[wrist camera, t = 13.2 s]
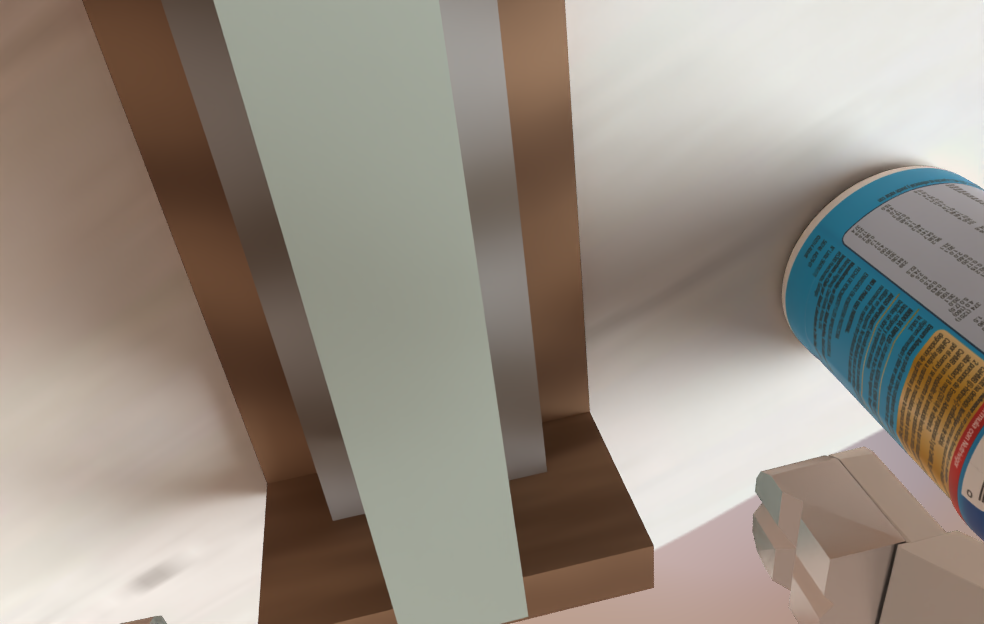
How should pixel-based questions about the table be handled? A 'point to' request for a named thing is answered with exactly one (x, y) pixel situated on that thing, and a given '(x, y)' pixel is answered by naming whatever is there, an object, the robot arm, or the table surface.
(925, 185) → the beverage bottle
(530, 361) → the door track
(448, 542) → the grey-green rectangular block
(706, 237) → the table surface
